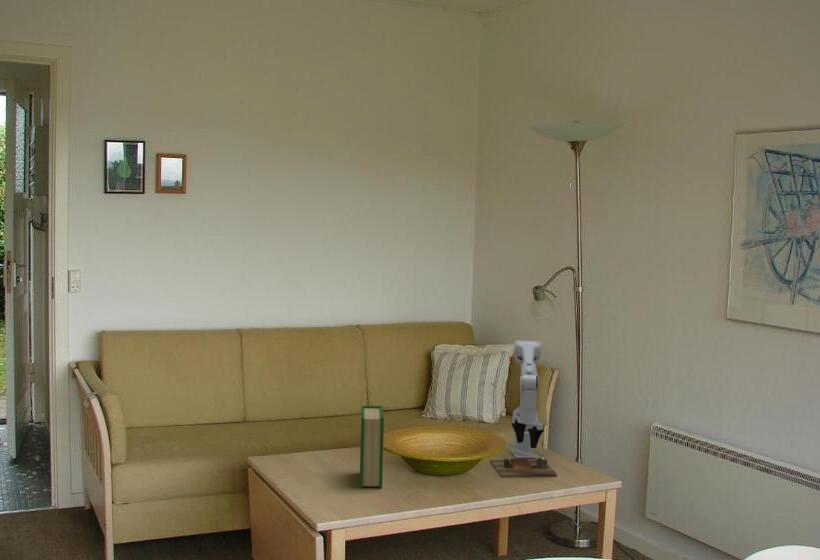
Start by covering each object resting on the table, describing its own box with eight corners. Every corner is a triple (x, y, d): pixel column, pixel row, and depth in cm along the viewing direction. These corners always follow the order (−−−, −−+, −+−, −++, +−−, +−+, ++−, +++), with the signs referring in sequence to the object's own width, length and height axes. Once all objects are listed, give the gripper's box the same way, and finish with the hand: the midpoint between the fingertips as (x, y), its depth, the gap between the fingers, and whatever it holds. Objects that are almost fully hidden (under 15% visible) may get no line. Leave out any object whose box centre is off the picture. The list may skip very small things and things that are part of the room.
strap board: (490, 462, 332) (490, 450, 332) (542, 462, 334) (543, 450, 334) (501, 477, 314) (501, 464, 314) (556, 476, 317) (557, 464, 316)
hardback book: (382, 488, 298) (383, 417, 296) (359, 488, 298) (361, 417, 296) (380, 473, 316) (382, 405, 314) (359, 472, 315) (361, 405, 313)
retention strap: (505, 445, 325) (506, 442, 325) (541, 459, 327) (542, 455, 327) (507, 448, 321) (508, 445, 321) (544, 461, 323) (545, 458, 323)
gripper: (506, 404, 323) (505, 441, 325) (532, 413, 311) (530, 451, 312) (522, 402, 327) (520, 439, 328) (548, 411, 315) (546, 449, 316)
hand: (526, 445), depth 320 cm, fingers open, 7 cm apart
